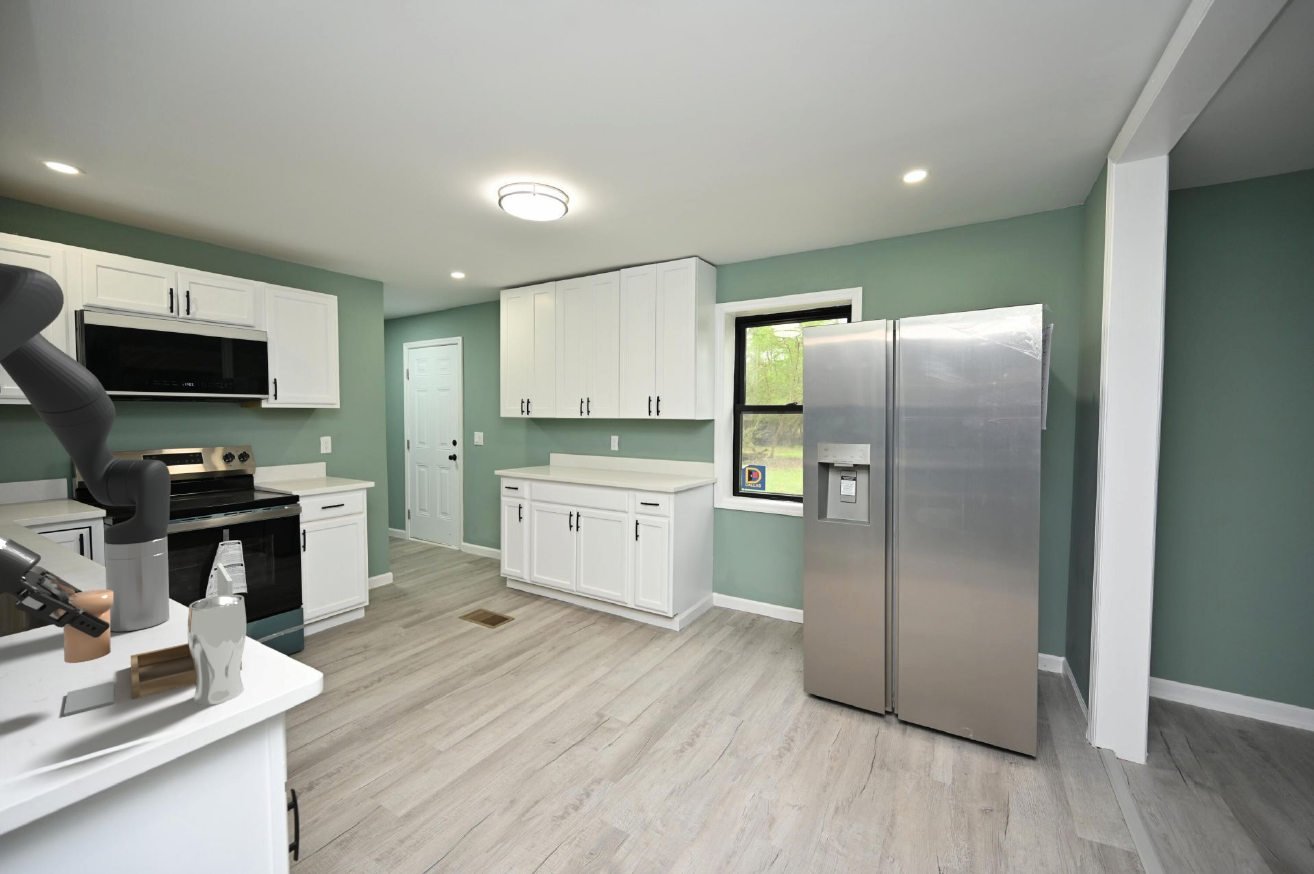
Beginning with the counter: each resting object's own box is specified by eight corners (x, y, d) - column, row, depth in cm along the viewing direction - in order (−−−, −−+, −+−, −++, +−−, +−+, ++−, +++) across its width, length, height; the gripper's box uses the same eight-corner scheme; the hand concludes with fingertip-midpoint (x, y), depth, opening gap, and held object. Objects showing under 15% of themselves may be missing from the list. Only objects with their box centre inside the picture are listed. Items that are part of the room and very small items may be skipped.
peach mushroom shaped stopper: (61, 655, 82) (60, 594, 82) (114, 644, 86) (113, 587, 86) (58, 667, 78) (57, 604, 78) (114, 656, 82) (113, 596, 82)
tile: (67, 698, 84) (67, 692, 84) (114, 687, 87) (113, 681, 87) (64, 720, 78) (63, 713, 78) (113, 707, 82) (113, 701, 82)
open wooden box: (131, 670, 93) (129, 602, 93) (230, 647, 102) (229, 585, 102) (132, 702, 83) (130, 626, 83) (242, 674, 92) (241, 605, 92)
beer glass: (235, 707, 82) (233, 607, 82) (179, 714, 80) (176, 611, 80) (255, 685, 89) (253, 592, 88) (203, 690, 87) (201, 596, 86)
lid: (217, 612, 101) (216, 563, 100) (222, 611, 101) (221, 562, 101) (229, 635, 91) (227, 581, 90) (233, 634, 91) (232, 580, 91)
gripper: (-2, 547, 71) (129, 616, 80) (13, 529, 82) (128, 592, 90) (-68, 597, 68) (77, 664, 77) (-43, 572, 78) (81, 633, 87)
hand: (104, 625), depth 83 cm, fingers closed on peach mushroom shaped stopper, 5 cm apart
